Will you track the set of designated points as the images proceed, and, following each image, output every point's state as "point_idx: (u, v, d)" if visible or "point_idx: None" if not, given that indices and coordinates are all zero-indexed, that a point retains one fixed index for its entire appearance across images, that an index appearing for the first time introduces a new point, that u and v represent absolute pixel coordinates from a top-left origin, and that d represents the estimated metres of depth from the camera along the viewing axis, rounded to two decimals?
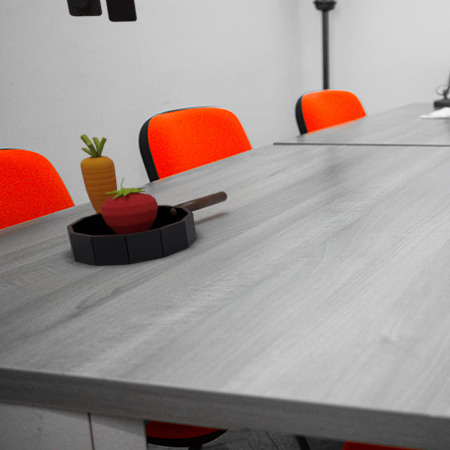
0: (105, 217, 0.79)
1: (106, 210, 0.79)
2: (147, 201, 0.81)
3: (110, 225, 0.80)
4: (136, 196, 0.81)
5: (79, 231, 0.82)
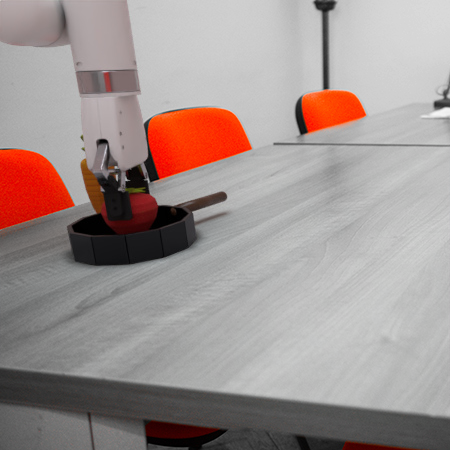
0: (105, 217, 0.79)
1: None
2: (147, 201, 0.81)
3: (110, 225, 0.80)
4: (136, 196, 0.81)
5: (79, 231, 0.82)
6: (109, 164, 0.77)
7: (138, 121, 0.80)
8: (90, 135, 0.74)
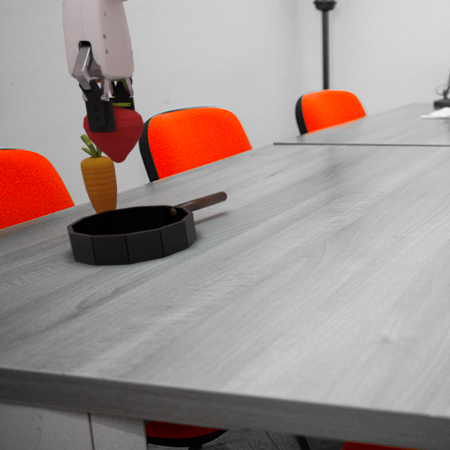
0: (87, 130, 0.75)
1: None
2: (132, 116, 0.77)
3: (92, 139, 0.76)
4: (121, 109, 0.77)
5: (79, 231, 0.82)
6: (92, 71, 0.73)
7: (124, 30, 0.76)
8: (72, 36, 0.70)
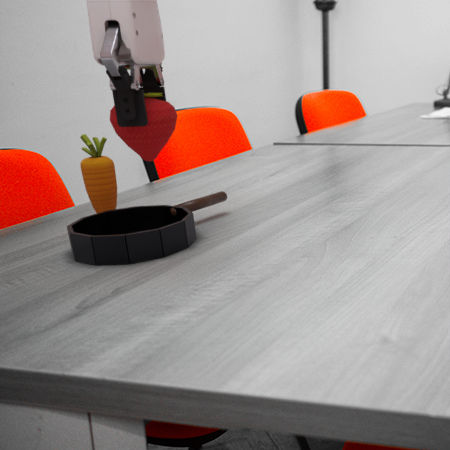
0: (115, 124, 0.66)
1: None
2: (165, 107, 0.67)
3: (121, 134, 0.66)
4: (152, 100, 0.67)
5: (79, 231, 0.82)
6: (120, 56, 0.63)
7: (154, 9, 0.67)
8: (97, 15, 0.60)
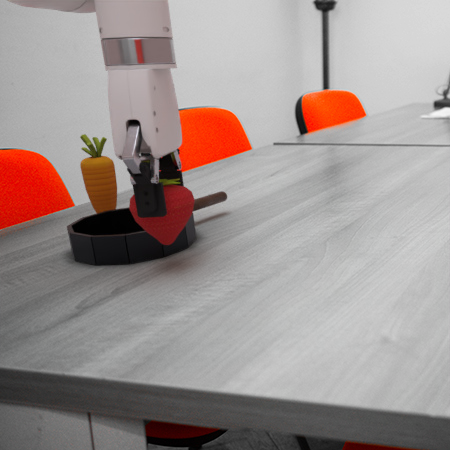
0: (134, 213, 0.67)
1: None
2: (183, 195, 0.69)
3: (140, 223, 0.68)
4: (171, 188, 0.69)
5: (79, 231, 0.82)
6: (140, 150, 0.65)
7: (172, 100, 0.68)
8: (119, 115, 0.62)
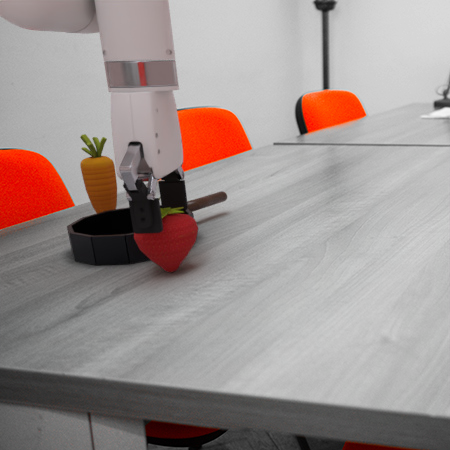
0: (139, 242, 0.68)
1: (141, 234, 0.68)
2: (187, 224, 0.70)
3: (144, 251, 0.69)
4: (174, 217, 0.70)
5: (79, 231, 0.82)
6: (142, 171, 0.66)
7: (174, 121, 0.69)
8: (121, 137, 0.62)
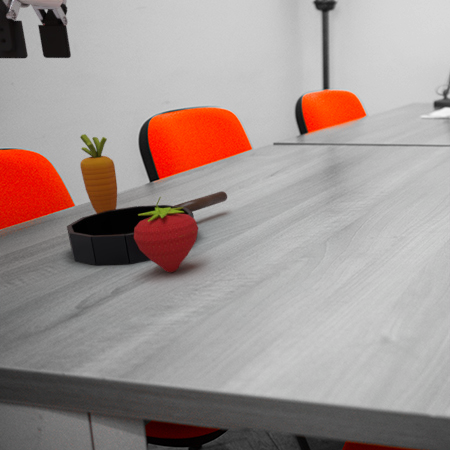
0: (139, 242, 0.68)
1: (141, 234, 0.68)
2: (187, 224, 0.70)
3: (144, 251, 0.69)
4: (174, 217, 0.70)
5: (79, 231, 0.82)
6: None
7: None
8: None
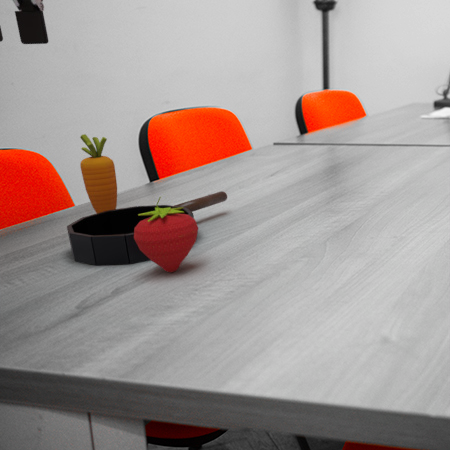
0: (139, 242, 0.68)
1: (141, 234, 0.68)
2: (187, 224, 0.70)
3: (144, 251, 0.69)
4: (174, 217, 0.70)
5: (79, 231, 0.82)
6: None
7: None
8: None
